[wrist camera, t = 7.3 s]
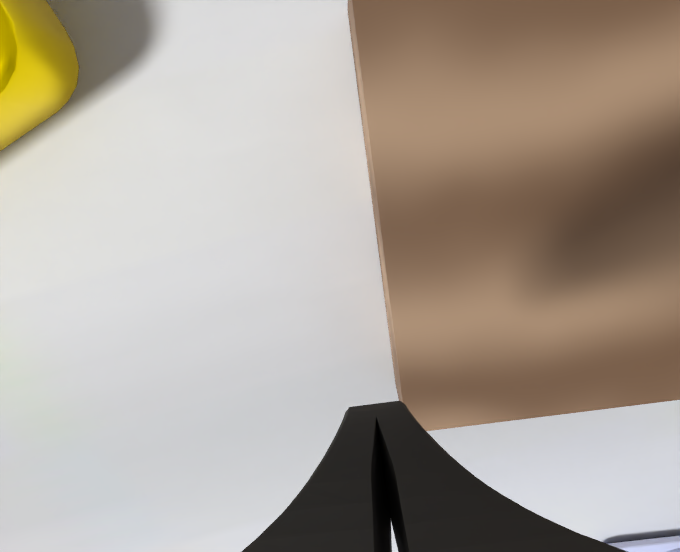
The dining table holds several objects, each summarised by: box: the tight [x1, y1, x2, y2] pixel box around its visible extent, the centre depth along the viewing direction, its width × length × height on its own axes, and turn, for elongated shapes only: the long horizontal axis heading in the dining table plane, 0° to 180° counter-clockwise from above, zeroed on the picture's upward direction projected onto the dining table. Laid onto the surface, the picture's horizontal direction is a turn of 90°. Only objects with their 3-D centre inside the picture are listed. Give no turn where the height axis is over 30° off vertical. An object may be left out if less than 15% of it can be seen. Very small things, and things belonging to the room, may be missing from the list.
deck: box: [348, 0, 680, 431], centre depth 18 cm, size 16×12×4 cm
